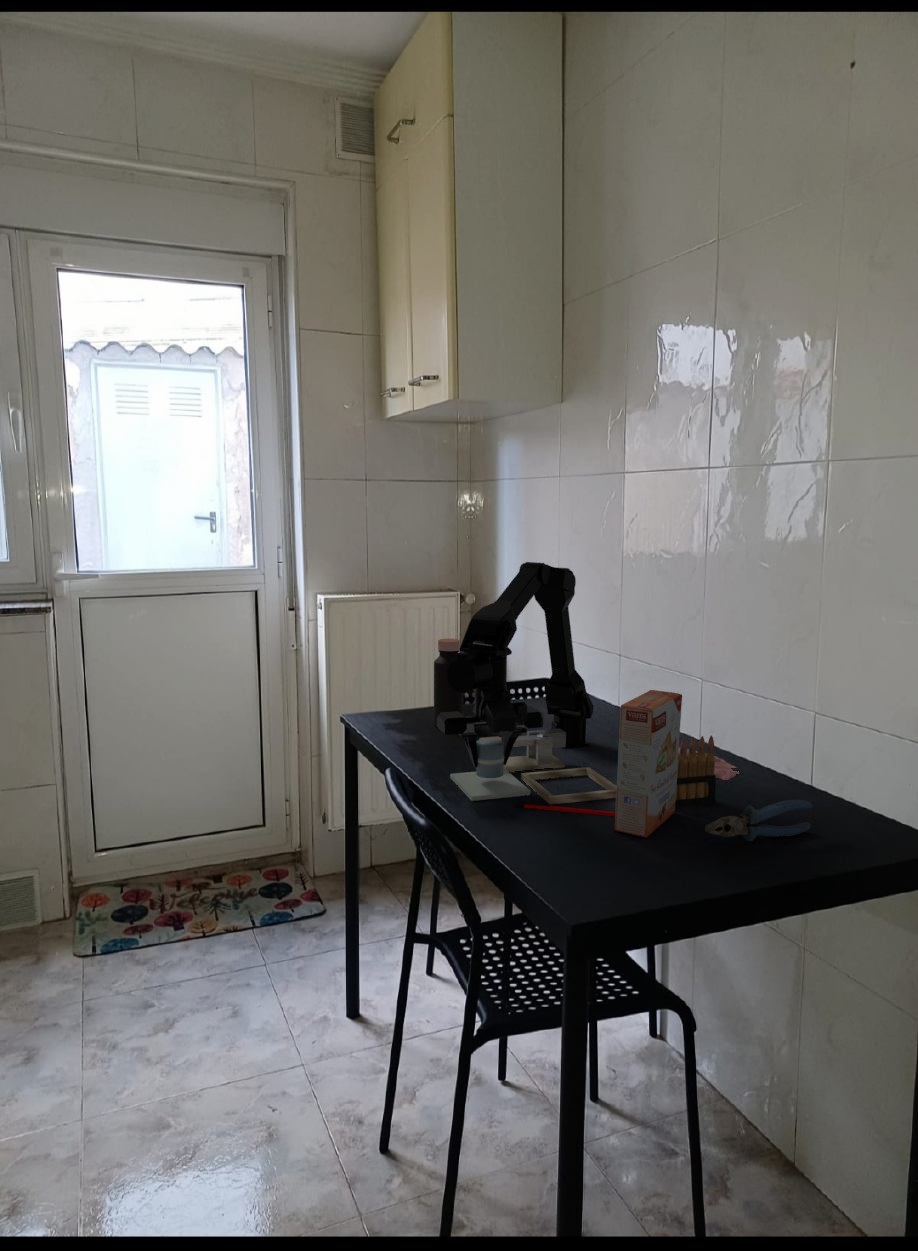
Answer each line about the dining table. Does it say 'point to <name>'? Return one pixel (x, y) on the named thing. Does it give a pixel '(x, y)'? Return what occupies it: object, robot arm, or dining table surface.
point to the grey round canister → (490, 758)
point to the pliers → (750, 817)
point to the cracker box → (647, 762)
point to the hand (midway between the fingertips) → (489, 765)
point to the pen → (564, 809)
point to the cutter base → (535, 756)
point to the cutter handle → (529, 740)
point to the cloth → (719, 767)
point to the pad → (489, 786)
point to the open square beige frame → (575, 797)
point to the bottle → (443, 692)
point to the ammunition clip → (696, 774)
